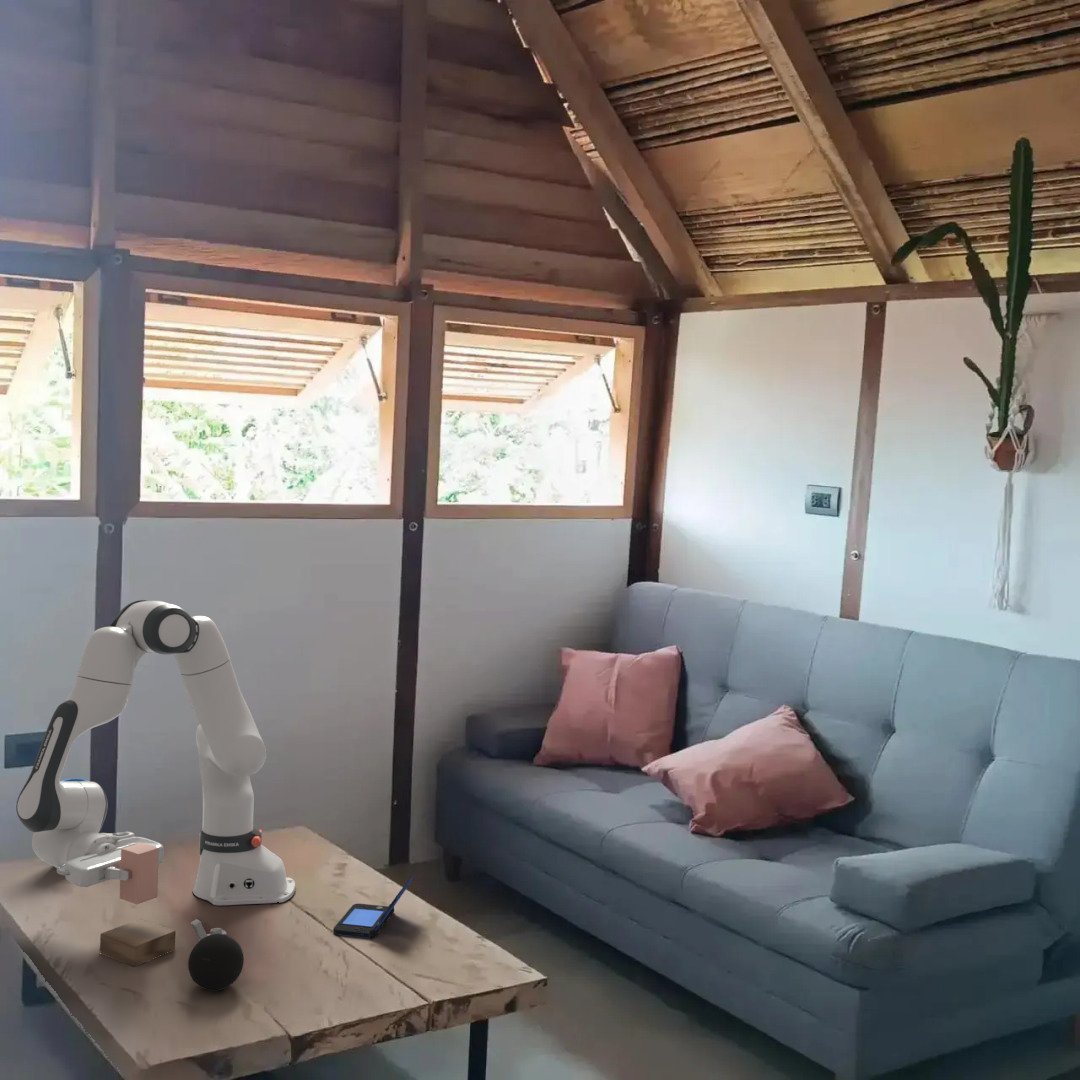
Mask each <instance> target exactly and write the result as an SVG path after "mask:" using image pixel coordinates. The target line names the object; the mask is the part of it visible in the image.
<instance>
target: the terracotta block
mask: <svg viewBox="0 0 1080 1080" xmlns="http://www.w3.org/2000/svg"><path fill="white" fill-rule="evenodd" d="M158 861H159V848H158V847H154V846H151V845H148V844H145V843H138V844H135V845H132V846H128V847H125V848H122V849H121V869H129V870H132V879H129V880H126V881H124V880H121V879H119V899H120V900H123V901H125V902H129V903H132V904H134V905H139V904H142V903H145V902H148V901H150V900H154V899H158V890H159V889H158V886H159V885H158V884H159V864H158Z"/></svg>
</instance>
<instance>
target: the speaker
mask: <svg viewBox="0 0 1080 1080" xmlns="http://www.w3.org/2000/svg"><path fill="white" fill-rule="evenodd" d="M244 958H245V957H244V952H243V950H242V947H241V945H240V944H239V942H238V941H237V940H236V939H235V938H233V937H231V936H230V935H228V934H227V935H224V934H212V935H209V936H206V937H204V938H203V939H201V940H198V941H197V943H196V944H194V946H193V948H192V949H191V951H190V953H189V955H188V961H187V962H188V963H187V967H188V968H187V969H188V973H189V976H190V978H191V979H192V981H193V982H194V983H195V984H196V985H197V986H198V987H200V988H201V989H204V990H207V991H212V992H213V991H214V992H215V991H221V990H224V989H227V988H228V987H230V986H231V985H233V984H234V983H235V982H236V981H237V980H238V978H239V977H240V976H241V973H242V971H243V968H244V962H245V961H244V960H245V959H244Z"/></svg>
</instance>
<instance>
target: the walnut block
mask: <svg viewBox="0 0 1080 1080" xmlns="http://www.w3.org/2000/svg"><path fill="white" fill-rule="evenodd" d="M99 938H100V939H99V940H100V941H99V954H100V953H101V954H100V955H103V954H104V955H103V956H105V955H106V957H108V956H109V957H108V958H111V959H113V958H114V960H117V961H118V960H119V961H118V962H121V961H122V963H124V964H127V965H130V966H132V967H138V966H140V965H143V964H145V963H147V962H150V961H152V960H154V959H153V958H155V957H157V958H159V957H158V956H160V955H162V956H164V955H166V954H165V953H167V952H169V953H171V952H170V951H172V952H174V951H175V950H176V930H175V929H172V928H169V927H166V926H163V925H160V924H157V923H155V922H152V921H149V920H146V919H144V918H139V919H136V920H133V921H131V922H128V923H125V924H123V925H121V926H120V925H119V926H118V927H115V928H111V929H109V930H107V931H104V932H101V933H100V935H99ZM173 950H174V951H173ZM163 954H164V955H163ZM167 954H168V953H167ZM160 957H161V956H160ZM151 959H152V960H151ZM155 959H156V958H155ZM144 962H145V963H144ZM142 963H143V964H142ZM137 965H138V966H137Z"/></svg>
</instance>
